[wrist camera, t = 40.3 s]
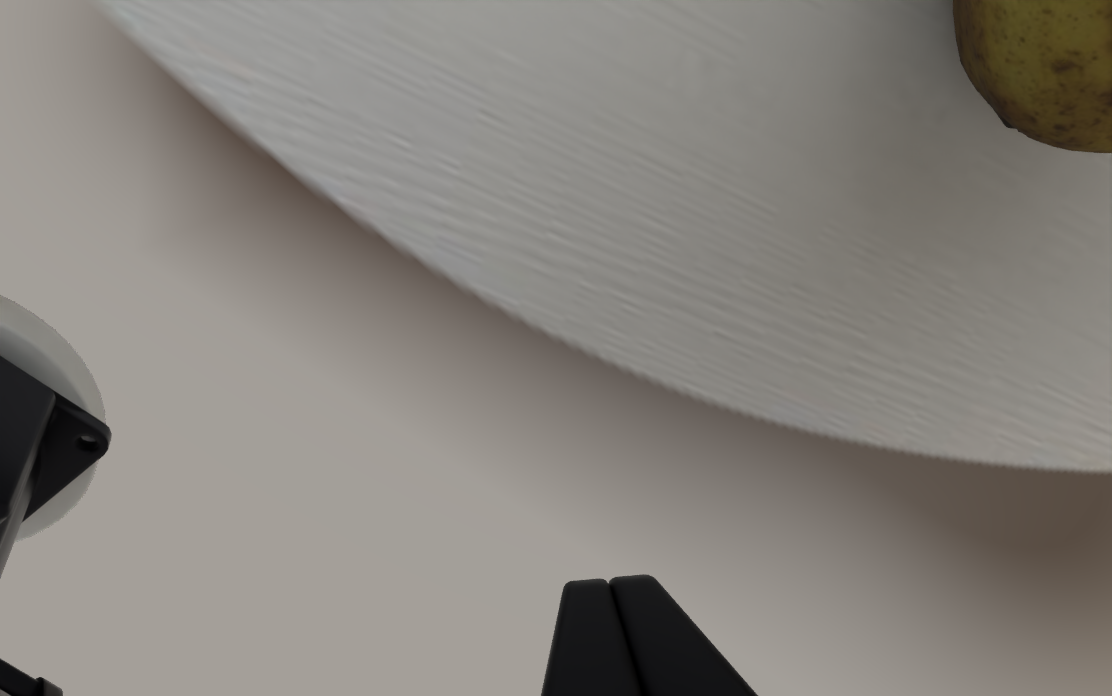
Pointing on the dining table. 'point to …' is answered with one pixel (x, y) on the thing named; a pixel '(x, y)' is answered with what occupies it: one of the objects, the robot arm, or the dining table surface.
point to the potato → (1042, 66)
